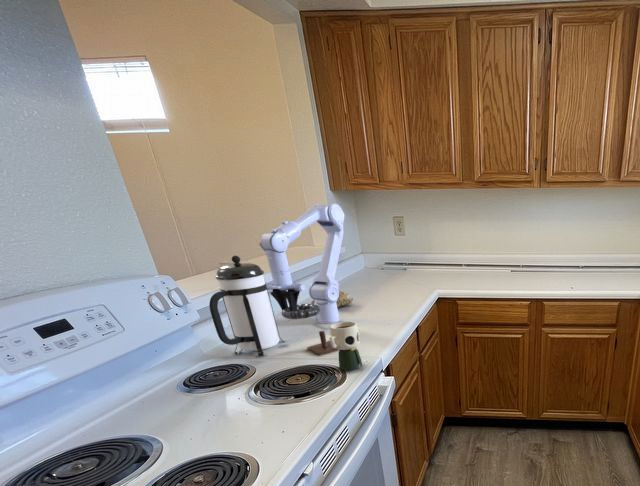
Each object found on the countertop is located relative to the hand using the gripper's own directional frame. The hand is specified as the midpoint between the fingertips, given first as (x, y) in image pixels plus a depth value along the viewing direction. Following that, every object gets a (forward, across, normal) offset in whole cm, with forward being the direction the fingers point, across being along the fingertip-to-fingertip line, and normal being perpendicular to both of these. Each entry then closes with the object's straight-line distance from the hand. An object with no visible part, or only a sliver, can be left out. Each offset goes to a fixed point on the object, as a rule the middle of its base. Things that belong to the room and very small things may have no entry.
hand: (289, 310), depth 144 cm
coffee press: (+10, -2, -15) cm, 18 cm away
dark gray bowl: (0, +5, 0) cm, 5 cm away
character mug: (+10, +36, -24) cm, 44 cm away
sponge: (+10, -8, +36) cm, 38 cm away
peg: (+9, +18, -10) cm, 23 cm away
